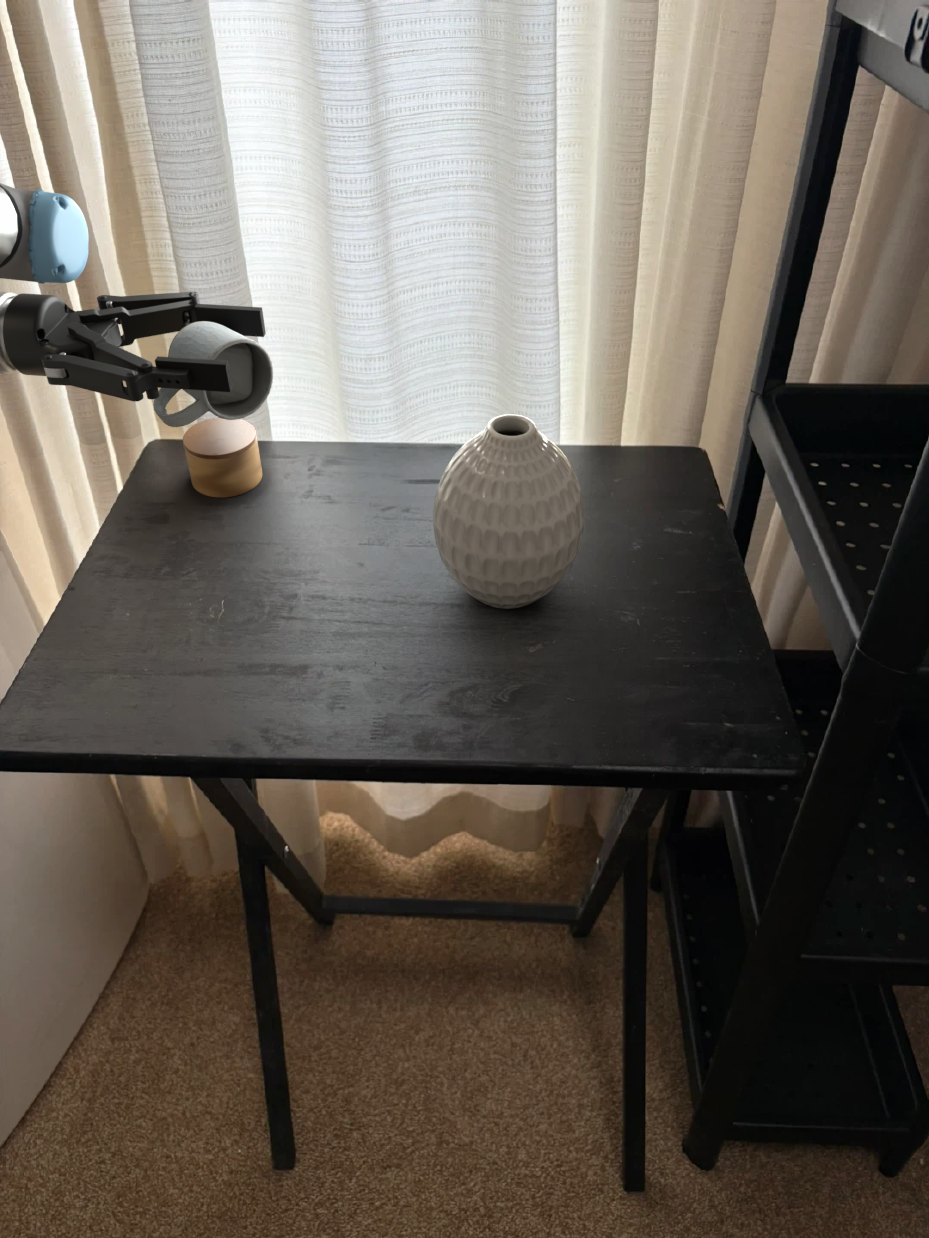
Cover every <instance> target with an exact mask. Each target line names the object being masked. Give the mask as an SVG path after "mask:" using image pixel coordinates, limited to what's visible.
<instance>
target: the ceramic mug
mask: <svg viewBox="0 0 929 1238" xmlns="http://www.w3.org/2000/svg"><path fill="white" fill-rule="evenodd" d="M167 357H175V358H190V359H206V360H222V361H228V364H229V369H230V375H231V381H232V387H233V389H232V390H231V392H218V391H203V390H189V389H173V388H172V389H171V388H159V389H158V391H159V397H158V398H156V399H153V403H152V405H153V410H154V412H155V414H156V415H157V416H158V418H159V419H160V420H161V422H163V424H165V425H166V426H167V427H171V428H181V427H184V426H187V425H190V424H192V423H194V422H195V421H196V420H198V419H200V418H201V417H203V416H204V415H205V414H206V413H207V412H209V413H211V414H213V415H214V416H215V417H216V418H217V417H219V418H222V419H226V420H236V419H244V418H246V417H248V416H251V415H252V414H254V413H255V412H257V411H258V410H259V409H260V408H261V407H262V406H263V404H264V403H265V402H266V400H268V397H269V395H270V393H271V390H272V387H273V382H274V368H273V363H272V360H271V357H270V355H269V353H268V352H267V350H266V349H265V347H263V346H262V345H261V344H260V343H259V342H257V341H255V340H253V339H251V338H249V337H248V336H243V335H241V334H239V333H237V332H235V331H233V330H231V329H229V328H227V327H225V326H223V325H220V324H218V323H214V322H208V321H199V322H194V323H191V324H189V325H187V326H185V327H184V328H182V329H181V330H180V331H178V332H176V334H175V335H174V337H173V338H172V340H171V342H170V345H169V348H168V353H167ZM181 390H182V391H184V392H185V393H186V394H187V395H189V396H191V398H193V399H194V400H195V401H194V402H193V403H191V404H189V405H187V406H186V407H185V408H183V409H181V410H178V411H176V412H174V413H169V414H168V410H167V409H166V408H167V405H168V404H169V402H170V401H171V400H172V399H173V397H175V395H177V394H178V392H179V391H181Z"/></svg>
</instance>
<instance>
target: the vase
mask: <svg viewBox="0 0 929 1238" xmlns="http://www.w3.org/2000/svg"><path fill="white" fill-rule="evenodd" d="M434 497H435V498H434V502H433V503H434V504H433V511H432V517H433V520H432V523H433V535H434V540H435V545H436V547H437V550H438V553H439V556H440V559H441V562H442V563H443V564H444V567H445V568H446V569H447V571H448V573H449V574H450V576H451V577H452V579H453V580H454V581H455V582H456V583H457V584H458V585H459V587H460V588H461V589H462V590H463V591H464V592H465V593H467V594H468V595H469V596H471V597H473V599H475V600H477V601H479V602H481V603H482V604H485V605H487V606H489V607H491V608H495V609H502V610H514V609H518V608H523V607H525V606H529V605H530V604H532V603H534V602H536V601H538V600H539V599H542V598H543V597H545V596H546V595H547V594H549V593H550V592H551V591H552V590H554V588H555V587H556V586H557V585H559V583H560V582H561V581H562V580H563V579H564V578H565V576H566V575H567V573H568V572H569V571H570V570H571V567H572V566H573V564H574V562H575V561H576V558H577V555H578V554H579V552H580V549H581V548H580V547H581V544H582V538H583V534H584V527H585V504H584V496H583V492H582V489H581V485H580V482H579V479H578V476H577V475H576V472H575V471H574V468H573V466H572V465H571V463H570V461H569V460H568V458H567V456H566V455H565V453H564V452H563V451H562V450H561V448H559V446H558V445H556V443H554V442H553V441H552V440H551V439H550V438H549V437H548V436H546V435H545V434H544V433H542V432H540V431H539V430H538V427H537V425H536V424H535V422H534V421H533V420H532V419H530V418H528V417H526V416H523V415H520V414H511V413H509V414H502V415H498V416H495V417H493V418H492V419H490V420H489V421H488V423H487V424H486V426H485V428H484V429H483V430H481V431H479V432H478V433H477V434H475V435H474V436H472V437H471V438H469V440H467V441H466V442H465V443H464V444H463V445H462V446H461V447H460V448H459V449H458V450H457V451H456V453H455V454H454V455H453V456H452V458H451V460H450V461H449V462H448V464H447V465H446V468H445V469H444V471H443V473H442V476H441V478H440V480H439V483H438V485H437V489H436V491H435V496H434Z"/></svg>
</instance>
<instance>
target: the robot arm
mask: <svg viewBox="0 0 929 1238" xmlns="http://www.w3.org/2000/svg"><path fill="white" fill-rule="evenodd" d="M89 240H90V236H89V228H88V223H87V220H86V218H85V215H84V213H83V211H82V209H81V207H80V206H79V205H78V204H77V202H76V201H75V200H74V199H73V198H71V197H70V196H68V195H66V194H63V193H58V192H56V193H55V192H50V191H45V190H43V189H40V188H39V189H38V188H35V190H28V189H21V188H15V187H12V186H9V185H6V184H3V183H1V182H0V279H3V280H11V281H23V282H24V281H25V282H30V283H31V282H32V283H38V284H41V285H45V283H49V284H51V283H52V284H53V283H54V284H68V283H71V282H74V281H75V280H77V278H79V277H80V276H81V275H82V273H83V271H84V270H85V268H86V265H87V261H88V260H89V259H88V258H89V252H90V250H89V244H90V243H89V242H90V241H89ZM199 296H200V295H199V292H198V291H181V292H180V291H179V292H167V293H165V292H164V293H152V294H151V293H150V294H137V295H136V294H135V295H121V296H120V295H112V294H111V295H109V294H101V295H98V296H97V297H96V301H97V305H98V306H97V307H96V308H90V309H83V310H82V309H81V310H74V309H72V308H71V307H69V305H68V304H67V303H66V302H65V301H64V300H63V299H62V298H60V297H58V296H57V295H53V294H40V293H39V294H38V293H26V292H25V293H16V292H11V291H0V375H4V376H5V375H8V374H12V375H14V374H17V375H18V374H22V375H25V376H34V377H35V376H38V377H46V379H47V382H48V384H49V385H51V386H70V387H75V388H79V389H82V390H83V389H84V390H85V391H86V390H87V391H91V392H95V393H97V394H102V395H107V396H109V397H114V398H118V399H121V400H126V401H129V402H135V403H137V402H140V401H142V400H143V399H144V393H145V394H146V398H147V399H148V400H154V399H156V398H158V397H159V389H161V388H171V389H172V388H173V389H181V390H183V389H189V390H203V391H218V392H231V390H232V389H233V387H232V381H231V375H230V369H229V364H228V361H222V360H206V359H190V358H175V357H168V356H160V355H159V356H156V358H155V359H154V364H155V366H154V365H153V362H152V361H150V360H148V359H145V358H144V357H141V356H139V355H136V354H135V353H133V352H130V351H128V350H126V349H124V348H121V347H126V346H132V345H133V344H134V342H135V340H138V339H144V338H150V337H155V336H161V335H166V334H172V333H178V332H179V331H180V330H181V329H182V328H184V327H185V326H187V325H189V324H191V323H194V322H199V321H208V322H214V323H218V324H220V325H223V326H225V327H227V328H229V329H231V330H233V331H235V332H237V333H239V334H241V335H243V336H245V337H257V338H258V337H259V338H264V337H265V336H266V335H267V334H266V332H267V331H266V326H265V325H266V324H265V319H264V312H263V307H261V306H259V307H258V306H246V305H245V306H244V305H243V306H242V305H227V304H211V303H210V304H209V303H201V301H200V297H199ZM120 326H121V330H122V334H121V331H120ZM124 382H125V385H124Z"/></svg>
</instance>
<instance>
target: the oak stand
mask: <svg viewBox="0 0 929 1238" xmlns="http://www.w3.org/2000/svg"><path fill="white" fill-rule="evenodd" d="M182 443H183V448H184V453H185V459H186V462H187V463H186V464H187V468H188V471H189V477H190V480H191V484H192V487H193V488H194V489H195V491H197V492H198V493H200V494H201V495H204V496H207V497H212V498H231V497H236V496H240V495H243V494H245V493H247V492H250V491H251V490H253V489H255V487H257V486H258V485H259V484H260V482H261V481H262V478H263V468H262V461H261V454H260V448H259V442H258V437H257V430H256V428H255V426H254V425H253V424H252V423H250V421H248V420H246V419H244V418H241V419H236V420H226V419H222V418H219V417H217V416H216V417H211V418H207V419H204V420H202V421H199V422H196V423H195V424H193V425H191V426H190V427H189V428H188V429H187V430H186V431H185V433H184V434H183V437H182Z"/></svg>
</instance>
